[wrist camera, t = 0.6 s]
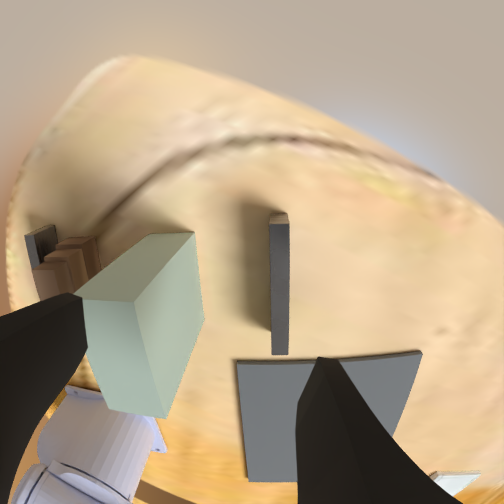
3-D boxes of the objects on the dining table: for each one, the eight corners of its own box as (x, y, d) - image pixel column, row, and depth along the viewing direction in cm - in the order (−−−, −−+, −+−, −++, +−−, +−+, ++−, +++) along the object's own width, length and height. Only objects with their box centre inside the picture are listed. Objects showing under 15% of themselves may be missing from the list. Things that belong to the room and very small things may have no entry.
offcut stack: (87, 312, 21) (54, 345, 17) (69, 237, 19) (27, 260, 15) (112, 313, 21) (81, 350, 16) (95, 236, 19) (54, 260, 15)
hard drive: (481, 474, 27) (439, 477, 26) (444, 502, 29) (397, 505, 28) (478, 467, 28) (436, 468, 27) (442, 495, 31) (395, 497, 30)
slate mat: (249, 479, 27) (248, 481, 27) (237, 361, 21) (236, 364, 21) (373, 471, 26) (374, 473, 26) (420, 351, 20) (422, 353, 20)
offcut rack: (69, 321, 22) (53, 337, 19) (45, 226, 19) (24, 235, 17) (287, 332, 20) (288, 354, 18) (287, 213, 18) (289, 223, 15)
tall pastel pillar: (162, 317, 21) (109, 408, 12) (149, 233, 19) (67, 298, 10) (204, 319, 20) (166, 419, 12) (194, 232, 18) (133, 302, 10)
